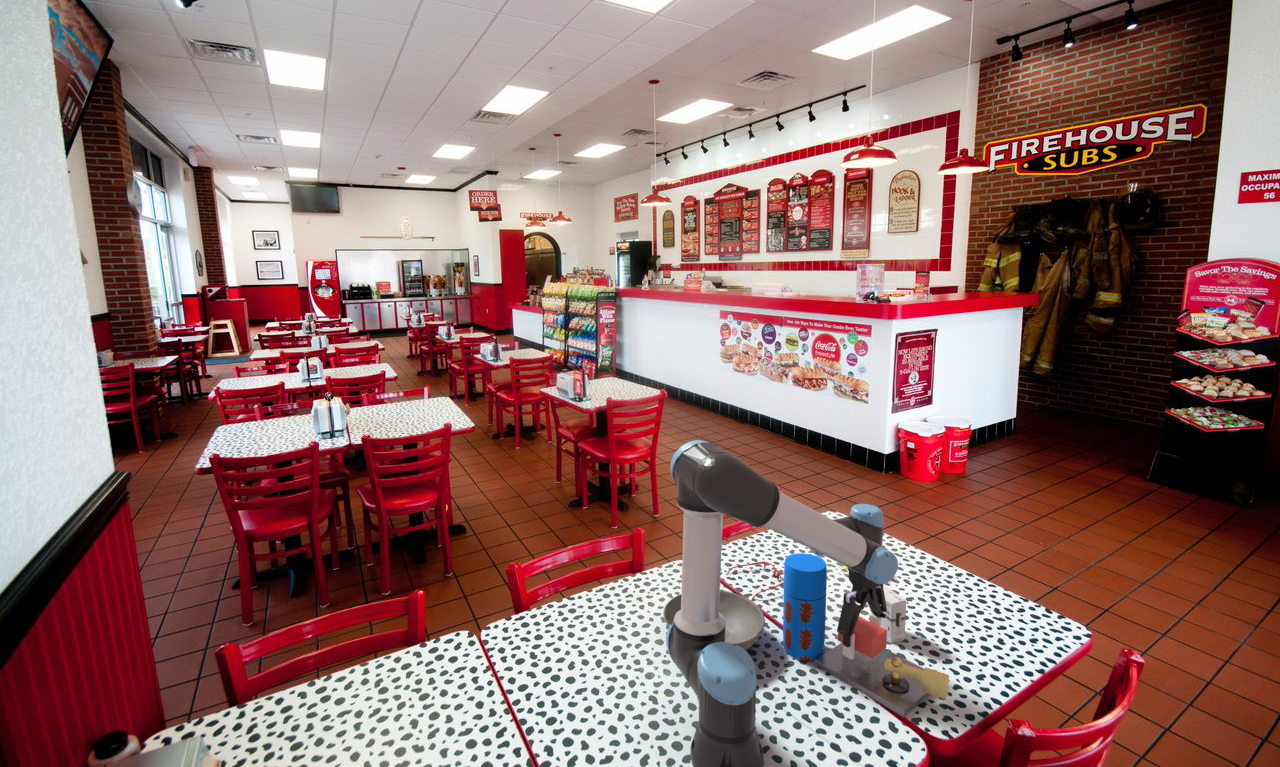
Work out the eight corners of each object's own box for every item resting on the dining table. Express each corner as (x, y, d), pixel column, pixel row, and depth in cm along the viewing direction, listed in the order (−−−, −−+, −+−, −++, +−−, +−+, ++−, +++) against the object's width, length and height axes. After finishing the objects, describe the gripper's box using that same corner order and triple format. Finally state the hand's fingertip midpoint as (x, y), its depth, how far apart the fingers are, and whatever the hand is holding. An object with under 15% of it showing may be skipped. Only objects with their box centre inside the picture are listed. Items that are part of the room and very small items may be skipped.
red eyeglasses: (794, 594, 187) (794, 580, 186) (751, 605, 181) (751, 590, 180) (763, 571, 203) (763, 557, 202) (722, 580, 197) (722, 566, 196)
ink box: (869, 627, 168) (871, 588, 166) (884, 623, 169) (885, 585, 167) (890, 643, 160) (892, 603, 158) (905, 640, 161) (907, 600, 159)
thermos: (826, 663, 152) (829, 573, 148) (783, 659, 154) (785, 570, 150) (822, 639, 163) (824, 554, 159) (782, 635, 165) (783, 551, 161)
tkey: (883, 679, 142) (884, 656, 141) (886, 674, 144) (887, 651, 143) (945, 702, 134) (947, 678, 133) (947, 696, 136) (949, 672, 135)
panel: (903, 717, 133) (905, 691, 132) (814, 664, 152) (815, 641, 151) (943, 683, 143) (944, 659, 142) (855, 638, 162) (856, 617, 161)
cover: (871, 658, 144) (872, 639, 143) (837, 640, 151) (838, 622, 150) (886, 648, 147) (887, 630, 147) (852, 631, 155) (853, 613, 154)
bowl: (684, 683, 146) (683, 653, 144) (652, 622, 172) (651, 596, 171) (783, 663, 153) (784, 633, 152) (737, 607, 180) (737, 582, 178)
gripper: (850, 587, 136) (847, 674, 140) (904, 558, 150) (900, 637, 153) (823, 575, 142) (820, 658, 145) (877, 548, 156) (873, 625, 159)
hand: (861, 648), depth 149 cm, fingers open, 11 cm apart
